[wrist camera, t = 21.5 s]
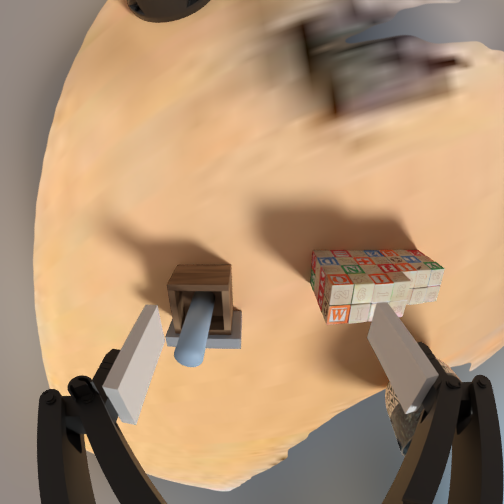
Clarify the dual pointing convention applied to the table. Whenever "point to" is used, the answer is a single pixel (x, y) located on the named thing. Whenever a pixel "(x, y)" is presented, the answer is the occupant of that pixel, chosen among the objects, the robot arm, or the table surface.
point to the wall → (214, 340)
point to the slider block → (202, 279)
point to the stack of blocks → (371, 282)
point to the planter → (405, 415)
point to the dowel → (195, 330)
